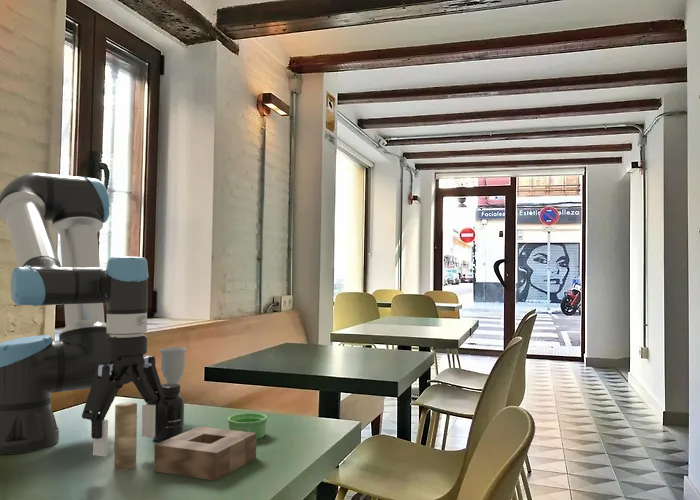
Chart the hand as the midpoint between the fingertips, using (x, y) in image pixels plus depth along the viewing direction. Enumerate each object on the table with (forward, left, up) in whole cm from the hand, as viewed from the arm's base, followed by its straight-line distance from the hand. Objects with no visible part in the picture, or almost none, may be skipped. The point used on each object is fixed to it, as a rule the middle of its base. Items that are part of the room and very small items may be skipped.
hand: (125, 445), depth 113 cm
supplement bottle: (-5, +19, -4) cm, 20 cm away
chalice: (-15, +33, -4) cm, 37 cm away
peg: (0, 0, -4) cm, 4 cm away
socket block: (+14, +7, -4) cm, 16 cm away
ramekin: (+11, +27, -4) cm, 29 cm away
